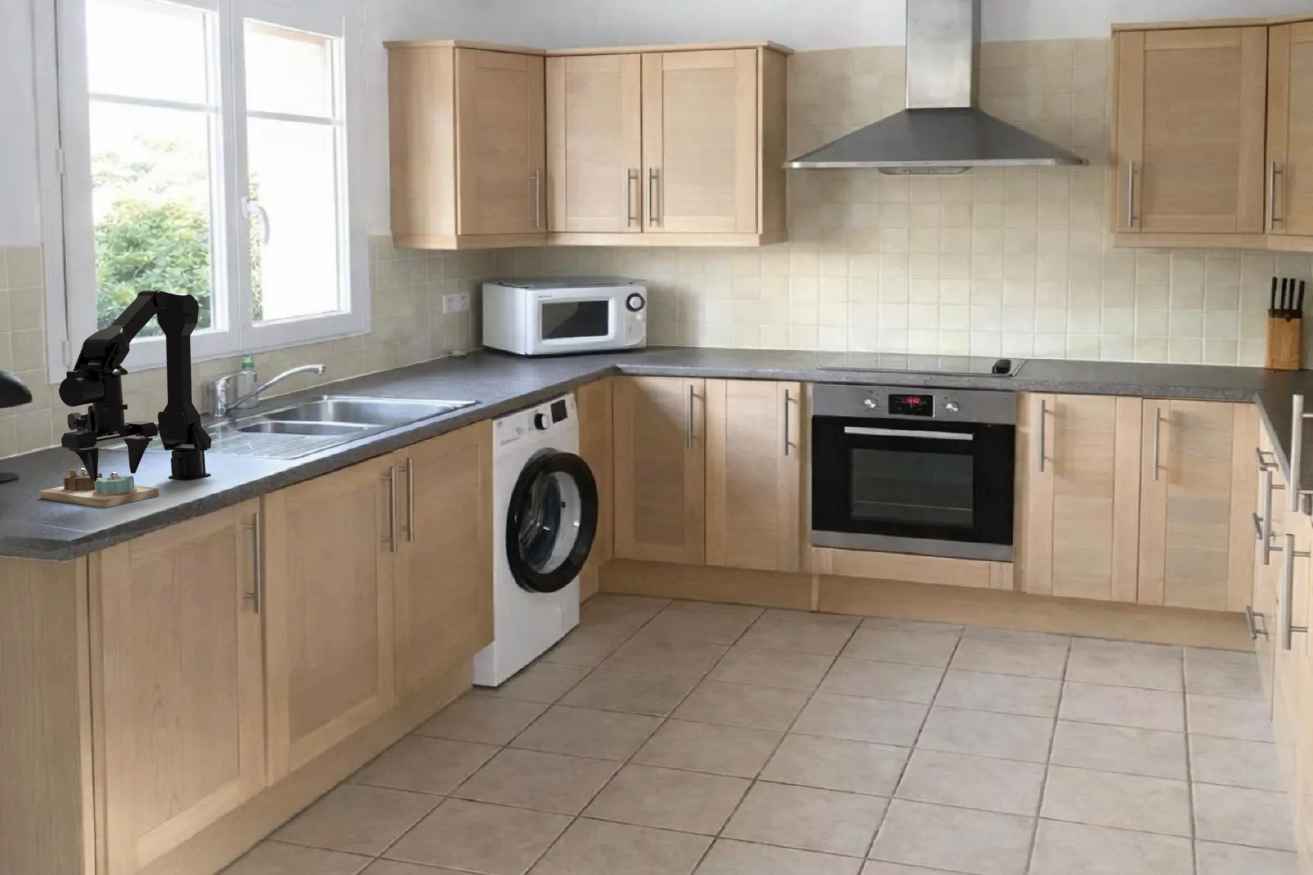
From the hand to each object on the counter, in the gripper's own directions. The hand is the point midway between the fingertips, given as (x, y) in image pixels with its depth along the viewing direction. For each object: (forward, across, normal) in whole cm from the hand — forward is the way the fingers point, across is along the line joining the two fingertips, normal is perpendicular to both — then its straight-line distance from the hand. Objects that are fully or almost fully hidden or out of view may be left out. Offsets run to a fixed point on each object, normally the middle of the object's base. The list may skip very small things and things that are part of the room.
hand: (113, 477), depth 287 cm
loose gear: (+3, 0, 0) cm, 3 cm away
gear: (+3, 0, -10) cm, 10 cm away
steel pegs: (+3, 0, -5) cm, 6 cm away
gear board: (+4, 0, -5) cm, 7 cm away
